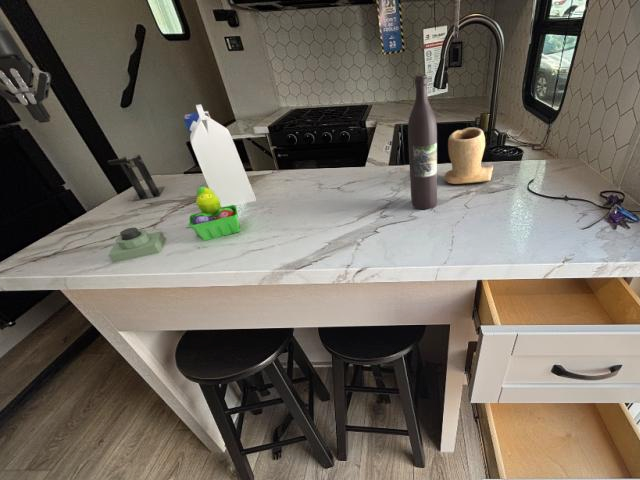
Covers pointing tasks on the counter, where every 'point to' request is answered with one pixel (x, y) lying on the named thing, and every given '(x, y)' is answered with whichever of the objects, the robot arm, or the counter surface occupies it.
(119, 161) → the lever
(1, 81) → the robot arm
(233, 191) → the milk
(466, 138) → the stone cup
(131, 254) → the control block
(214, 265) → the counter surface
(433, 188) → the wine bottle
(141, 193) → the bracket
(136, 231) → the button
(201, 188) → the fruit basket
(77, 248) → the counter surface
